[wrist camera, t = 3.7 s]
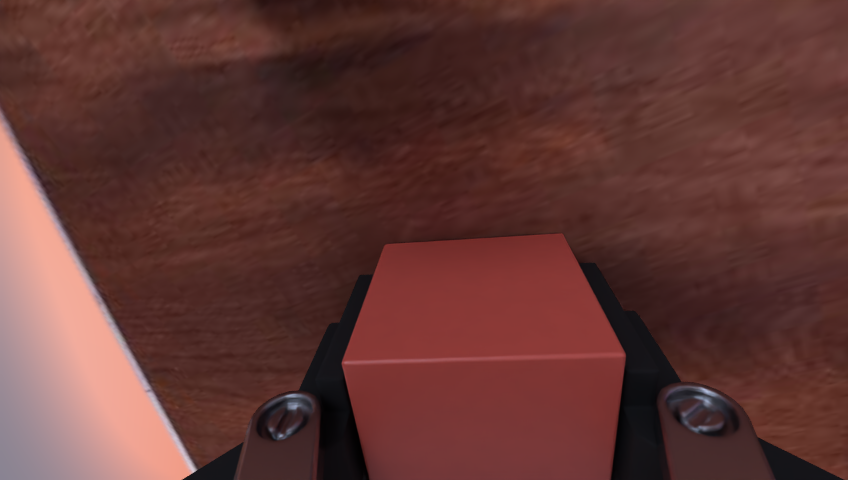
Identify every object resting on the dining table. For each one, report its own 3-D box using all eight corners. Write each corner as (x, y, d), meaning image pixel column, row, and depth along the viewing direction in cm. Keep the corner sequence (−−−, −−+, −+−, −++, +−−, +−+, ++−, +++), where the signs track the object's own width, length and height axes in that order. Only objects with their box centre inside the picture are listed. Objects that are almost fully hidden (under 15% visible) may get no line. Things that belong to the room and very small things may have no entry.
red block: (405, 376, 13) (380, 532, 9) (384, 243, 11) (339, 362, 7) (558, 372, 12) (606, 536, 8) (563, 231, 10) (628, 354, 6)
